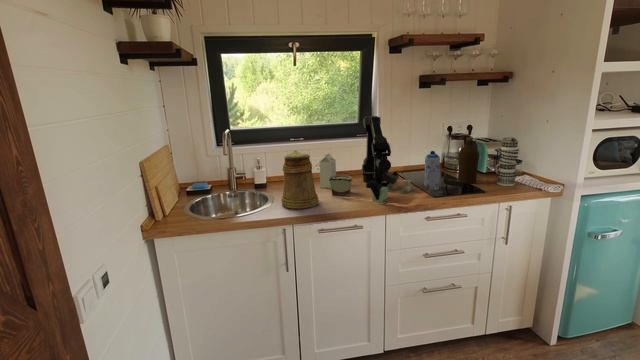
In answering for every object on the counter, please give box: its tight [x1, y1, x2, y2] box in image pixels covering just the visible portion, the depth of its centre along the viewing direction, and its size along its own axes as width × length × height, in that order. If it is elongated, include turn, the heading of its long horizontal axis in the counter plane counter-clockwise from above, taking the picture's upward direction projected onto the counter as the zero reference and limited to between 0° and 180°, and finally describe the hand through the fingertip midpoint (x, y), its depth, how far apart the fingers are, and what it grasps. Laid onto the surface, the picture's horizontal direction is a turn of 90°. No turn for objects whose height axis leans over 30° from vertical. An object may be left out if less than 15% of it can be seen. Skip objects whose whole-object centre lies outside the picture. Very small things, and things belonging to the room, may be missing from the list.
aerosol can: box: [423, 150, 441, 191], centre depth 185 cm, size 8×8×20 cm
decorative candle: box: [496, 136, 520, 187], centre depth 185 cm, size 9×9×25 cm
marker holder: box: [388, 179, 421, 196], centre depth 182 cm, size 22×12×7 cm, turn 56°
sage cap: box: [371, 187, 389, 204], centre depth 169 cm, size 6×6×7 cm
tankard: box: [281, 149, 320, 210], centre depth 170 cm, size 18×24×25 cm
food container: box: [329, 174, 353, 198], centre depth 181 cm, size 12×6×10 cm, turn 71°
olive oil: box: [457, 136, 480, 185], centre depth 193 cm, size 11×11×25 cm
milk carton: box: [318, 152, 337, 189], centre depth 196 cm, size 7×7×19 cm
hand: (380, 198), depth 169 cm, fingers closed on sage cap, 6 cm apart
